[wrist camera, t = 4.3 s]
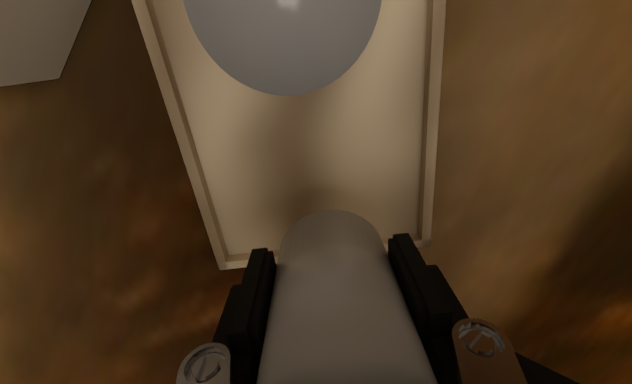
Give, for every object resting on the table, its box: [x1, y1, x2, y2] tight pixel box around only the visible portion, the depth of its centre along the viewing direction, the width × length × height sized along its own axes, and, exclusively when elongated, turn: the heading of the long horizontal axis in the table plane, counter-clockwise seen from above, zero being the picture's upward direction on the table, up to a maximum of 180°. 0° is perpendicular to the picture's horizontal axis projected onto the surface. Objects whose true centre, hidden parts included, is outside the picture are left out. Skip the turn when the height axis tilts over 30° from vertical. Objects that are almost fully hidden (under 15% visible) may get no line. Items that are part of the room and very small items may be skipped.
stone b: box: [183, 0, 382, 96], centre depth 9 cm, size 4×4×6 cm
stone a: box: [257, 210, 438, 384], centre depth 10 cm, size 4×4×6 cm
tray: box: [131, 0, 446, 270], centre depth 14 cm, size 12×16×1 cm
